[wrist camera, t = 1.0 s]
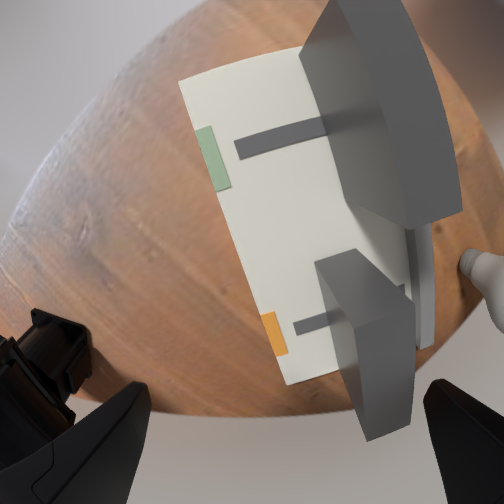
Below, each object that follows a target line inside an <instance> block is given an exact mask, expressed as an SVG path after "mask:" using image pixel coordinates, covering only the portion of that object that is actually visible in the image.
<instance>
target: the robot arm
mask: <svg viewBox="0 0 504 504" xmlns="http://www.w3.org/2000/svg"><path fill="white" fill-rule="evenodd" d="M31 317H32V323H33V325H32V326H31V327H30V328H29V329H28V330H27V331H26V332H25V333H24V334H23V335H22V336H21V337H20V338H19V339H18V340H17V341H15V339H14V338H13V336H11V337H10V338H8V339H6V338H4V337H3V336H1V335H0V504H126V502H127V499H128V496H129V493H130V489H131V486H132V483H133V479H134V476H135V473H136V470H137V467H138V464H139V460H140V457H141V454H142V451H143V447H144V442H145V437H146V432H147V427H148V422H149V417H150V412H151V406H152V402H151V398H150V394H149V391H148V387H147V385H146V384H145V383H142V382H136V381H133V382H131V383H130V384H128V385H127V386H126V387H124V388H123V389H122V390H120V391H119V392H118V393H116V394H115V395H114V396H113V397H111V398H110V399H109V400H107V401H106V402H105V403H103V404H102V405H101V406H99V407H98V408H97V409H95V410H94V411H93V412H91V413H90V414H88V415H87V416H86V417H85V418H83V419H82V420H80V421H79V422H78V423H76V424H75V425H74V422H75V417H76V414H75V413H74V412H73V411H72V410H70V409H69V408H68V407H67V405H66V404H65V403H66V401H67V399H68V398H69V396H70V394H76V393H77V391H78V390H79V388H80V386H81V385H82V383H83V381H84V380H85V378H90V377H91V375H92V372H91V368H92V366H91V359H90V352H89V348H88V345H87V336H86V329H85V327H84V326H83V325H81V324H78V323H75V322H72V321H69V320H66V319H63V318H61V317H58V316H55V315H52V314H49V313H47V312H44V311H41V310H39V309H36V308H34V309H32V310H31ZM80 330H81V331H80ZM423 403H424V409H425V413H426V418H427V423H428V427H429V433H430V437H431V441H432V445H433V448H434V451H435V455H436V458H437V462H438V466H439V469H440V473H441V477H442V481H443V485H444V489H445V493H446V497H447V502H448V504H504V417H503V416H501V415H500V414H498V413H497V412H495V411H494V410H492V409H490V408H489V407H487V406H486V405H484V404H483V403H481V402H480V401H478V400H477V399H475V398H473V397H472V396H470V395H469V394H467V393H466V392H464V391H462V390H461V389H459V388H458V387H456V386H455V385H453V384H452V383H450V382H448V381H447V380H445V379H437V380H434V381H433V382H432V383H431V384H430V386H429V388H428V390H427V392H426V394H425V396H424V399H423Z"/></svg>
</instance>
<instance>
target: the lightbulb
mask: <svg viewBox="0 0 504 504" xmlns="http://www.w3.org/2000/svg"><path fill="white" fill-rule="evenodd" d="M459 267H460V271H461V273H462V274H464V276H466V277H467V278H468V279H470V280H471V282H472V284H473V285H474V286H475V287H476V288H477V289H478V290H479V291H480V292H481V293H482V295H483V297H484V298H485V300H486V304H487V307H488V311H489V313H490V316H491V319H492V321H493V322H494V324H495V325H496V327H497V328H498V329H499V330H500V331H501V332H502V333H503V334H504V256H497V255H494V254H491V253H488V252H485V253H483V252H481V251H479V250H477V249H474V248H470V249H468V250H466V251H465V252H464V253H463V254H462V256H461V259H460V263H459Z"/></svg>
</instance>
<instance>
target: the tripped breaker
mask: <svg viewBox="0 0 504 504" xmlns="http://www.w3.org/2000/svg"><path fill="white" fill-rule="evenodd" d="M314 265H315V269H316V273H317V277H318V281H319V285H320V289H321V293H322V297H323V301H324V305H325V310H326V314H327V318H328V322H329V327H330V331H331V336H332V340H333V345H334V349H335V354H336V359H337V364H338V368H339V370H340V373H341V375H342V378H343V380H344V383H345V385H346V388H347V390H348V393H349V395H350V398H351V401H352V403H353V406H354V408H355V411H356V414H357V416H358V419H359V422H360V424H361V427H362V430H363V432H364V435H365V438H366V441H367V442H368V441H371V440H373V439H376V438H379V437H381V436H384V435H386V434H388V433H391V432H393V431H396V430H398V429H400V428H403V427H405V426H407V425H409V424H410V420H411V412H412V403H413V391H414V378H415V357H416V310H415V304H414V303H413V302H412V301H411V300H410V299H409V298H408V297H407V296H406V295H405V294H404V293H403V292H402V291H401V290H400V289H399V288H398V287H397V286H396V285H395V284H394V283H393V282H392V281H391V280H390V279H389V278H388V277H387V276H386V275H384V274H383V273H382V272H381V271H380V270H379V269H378V268H377V267H376V266H375V265H374V264H373V263H372V262H370V261H369V260H368V259H367V258H366V257H365V256H364V255H363V254H362V253H361V252H360V251H358V250H357V249H356V248H354V249H351V250H348V251H345V252H342V253H339V254H336V255H333V256H330V257H327V258H324V259H321V260H318V261H315V262H314Z"/></svg>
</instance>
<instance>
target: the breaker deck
mask: <svg viewBox="0 0 504 504" xmlns="http://www.w3.org/2000/svg"><path fill="white" fill-rule="evenodd" d="M302 48H303V46H300V47H295V48H290V49H285V50H280V51H276V52H272V53H267V54H263V55H259V56H255V57H252V58H248V59H244V60H241V61H237V62H234V63H231V64H227V65H224V66H221V67H218V68H215V69H212V70H209V71H206V72H203V73H200V74H198V75H195V76H192V77H189V78H187V79H184V80H182V81H179V82H178V83H179V86H180V89H181V92H182V95H183V98H184V101H185V104H186V107H187V110H188V113H189V116H190V118H191V121H192V124H193V127H194V130H195V134H196V137H197V140H198V142H199V145H200V148H201V151H202V154H203V157H204V160H205V163H206V166H207V168H208V171H209V174H210V177H211V180H212V183H213V186H214V188H215V191H216V193H217V196H218V199H219V202H220V205H221V208H222V210H223V213H224V216H225V219H226V222H227V224H228V227H229V230H230V233H231V236H232V238H233V241H234V244H235V247H236V250H237V252H238V255H239V258H240V261H241V263H242V266H243V269H244V272H245V274H246V277H247V280H248V283H249V285H250V288H251V291H252V294H253V296H254V299H255V302H256V304H257V307H258V310H259V313H260V316H261V319H262V321H263V324H264V327H265V329H266V332H267V335H268V337H269V340H270V343H271V345H272V348H273V351H274V353H275V356H276V358H277V361H278V363H279V366H280V369H281V371H282V374H283V377H284V379H285V382H286V385H290V384H294V383H297V382H301V381H304V380H308V379H311V378H314V377H317V376H321V375H324V374H327V373H330V372H333V371H336V370H339V368H338V364H337V359H336V354H335V349H334V345H333V340H332V336H331V331H330V327H329V322H328V318H327V314H326V310H325V305H324V301H323V297H322V293H321V289H320V285H319V281H318V277H317V273H316V269H315V265H314V262H315V261H318V260H321V259H324V258H327V257H330V256H333V255H336V254H339V253H342V252H345V251H348V250H351V249H354V248H356V249H357V250H358V251H360V252H361V253H362V254H363V255H364V256H365V257H366V258H367V259H368V260H369V261H370V262H372V263H373V264H374V265H375V266H376V267H377V268H378V269H379V270H380V271H381V272H382V273H383V274H384V275H386V276H387V277H388V278H389V279H390V280H391V281H392V282H393V283H394V284H395V285H396V286H397V287H398V288H399V289H400V290H401V291H402V292H403V293H404V294H405V295H406V296H407V297H408V298H409V299H410V300H411V301H412V302H413V303H414V304H415V310H416V345H417V347H418V348H419V349H420V350H422V349H424V348H426V347H428V346H430V345H432V344H434V327H435V277H434V258H433V244H432V234H431V224H430V223H429V224H426V225H423V226H421V227H418V228H415V229H412V230H409V231H408V230H407V229H405V228H403V227H401V226H399V225H397V224H395V223H393V222H391V221H389V220H387V219H385V218H383V217H381V216H379V215H377V214H375V213H373V212H371V211H369V210H367V209H365V208H363V207H361V206H359V205H357V204H354V203H352V202H350V201H348V200H346V199H344V195H343V191H342V187H341V183H340V179H339V176H338V172H337V168H336V165H335V161H334V158H333V154H332V151H331V147H330V144H329V141H328V138H327V134H326V131H325V128H324V125H323V122H322V119H321V116H320V113H319V110H318V107H317V104H316V101H315V98H314V95H313V93H312V90H311V87H310V84H309V82H308V79H307V76H306V74H305V71H304V68H303V66H302V63H301V61H300V58H299V56H298V55H299V53H300V51H301V50H302Z"/></svg>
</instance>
